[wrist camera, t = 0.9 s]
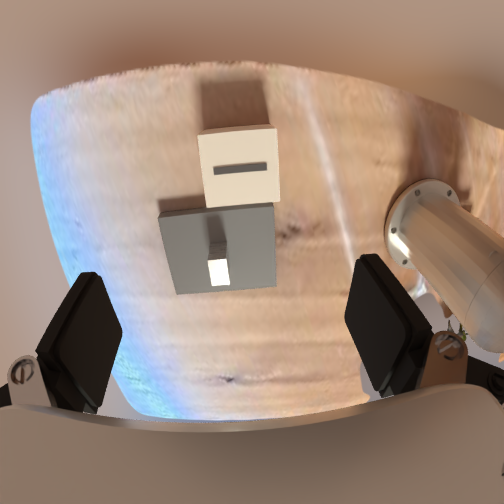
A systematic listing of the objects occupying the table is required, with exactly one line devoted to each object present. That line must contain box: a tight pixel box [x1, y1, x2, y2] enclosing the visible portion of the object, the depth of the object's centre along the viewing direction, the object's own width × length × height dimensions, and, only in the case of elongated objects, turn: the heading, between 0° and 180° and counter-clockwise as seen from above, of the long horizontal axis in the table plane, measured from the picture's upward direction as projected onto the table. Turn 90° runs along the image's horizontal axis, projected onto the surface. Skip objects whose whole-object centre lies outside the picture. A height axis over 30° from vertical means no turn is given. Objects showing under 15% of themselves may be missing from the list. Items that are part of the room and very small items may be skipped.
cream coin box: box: [197, 124, 280, 208], centre depth 25 cm, size 6×6×5 cm
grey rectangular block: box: [207, 242, 230, 286], centre depth 29 cm, size 2×3×4 cm, turn 4°
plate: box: [158, 202, 277, 295], centre depth 31 cm, size 12×10×2 cm
